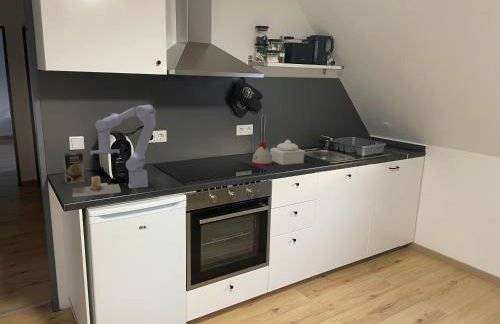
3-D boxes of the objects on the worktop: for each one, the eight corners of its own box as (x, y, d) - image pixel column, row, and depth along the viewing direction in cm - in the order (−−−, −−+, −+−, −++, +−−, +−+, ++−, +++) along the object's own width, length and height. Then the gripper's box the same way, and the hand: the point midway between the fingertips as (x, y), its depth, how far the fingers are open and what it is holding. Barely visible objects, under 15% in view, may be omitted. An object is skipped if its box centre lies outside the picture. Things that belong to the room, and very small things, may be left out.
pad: (107, 183, 210) (107, 182, 210) (108, 187, 203) (108, 186, 203) (91, 185, 207) (91, 184, 207) (91, 189, 200) (91, 188, 200)
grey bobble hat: (257, 166, 257) (257, 144, 254) (249, 162, 270) (249, 141, 267) (275, 165, 263) (276, 143, 260) (266, 161, 275) (267, 140, 272)
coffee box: (67, 184, 207) (64, 155, 204) (64, 182, 212) (62, 153, 209) (85, 182, 212) (82, 153, 209) (82, 179, 217) (80, 151, 214)
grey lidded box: (269, 160, 278) (270, 138, 275) (291, 158, 286) (292, 137, 283) (282, 165, 263) (283, 142, 260) (304, 163, 271) (305, 140, 267)
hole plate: (118, 187, 204) (118, 183, 203) (120, 193, 194) (120, 189, 193) (72, 191, 195) (72, 187, 194) (72, 198, 185) (72, 193, 185)
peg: (100, 191, 197) (99, 175, 195) (101, 193, 193) (100, 177, 192) (92, 191, 195) (91, 176, 194) (92, 194, 192) (91, 178, 190)
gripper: (118, 140, 211) (119, 164, 214) (89, 141, 205) (91, 166, 208) (119, 142, 205) (120, 167, 208) (89, 143, 199) (91, 169, 202)
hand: (106, 167), depth 208 cm, fingers open, 7 cm apart
